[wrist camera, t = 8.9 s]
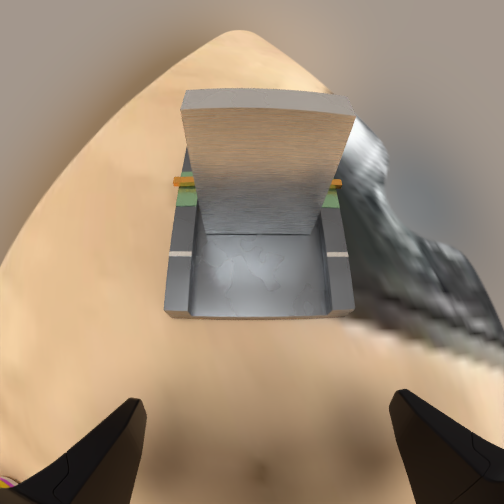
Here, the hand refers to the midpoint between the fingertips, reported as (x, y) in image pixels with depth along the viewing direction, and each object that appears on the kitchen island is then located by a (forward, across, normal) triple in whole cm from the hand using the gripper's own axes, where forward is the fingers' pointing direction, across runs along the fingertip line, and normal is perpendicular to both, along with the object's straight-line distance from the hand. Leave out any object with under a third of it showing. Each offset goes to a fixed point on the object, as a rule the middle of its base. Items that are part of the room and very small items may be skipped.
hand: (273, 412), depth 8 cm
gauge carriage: (+14, 0, -4) cm, 14 cm away
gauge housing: (+14, 0, -4) cm, 15 cm away
